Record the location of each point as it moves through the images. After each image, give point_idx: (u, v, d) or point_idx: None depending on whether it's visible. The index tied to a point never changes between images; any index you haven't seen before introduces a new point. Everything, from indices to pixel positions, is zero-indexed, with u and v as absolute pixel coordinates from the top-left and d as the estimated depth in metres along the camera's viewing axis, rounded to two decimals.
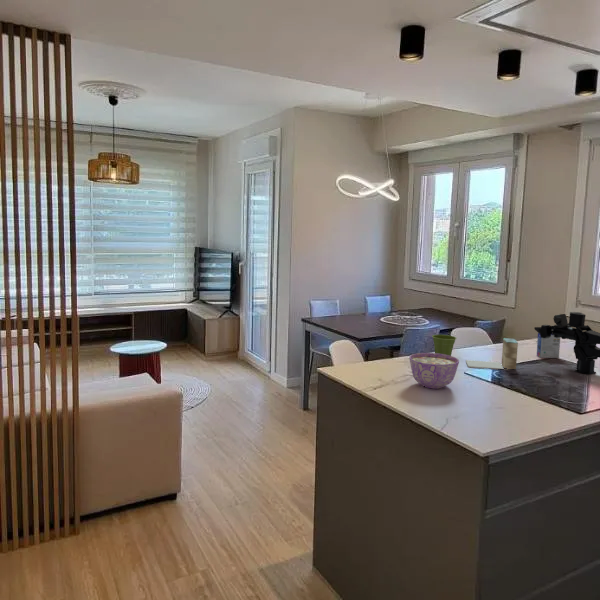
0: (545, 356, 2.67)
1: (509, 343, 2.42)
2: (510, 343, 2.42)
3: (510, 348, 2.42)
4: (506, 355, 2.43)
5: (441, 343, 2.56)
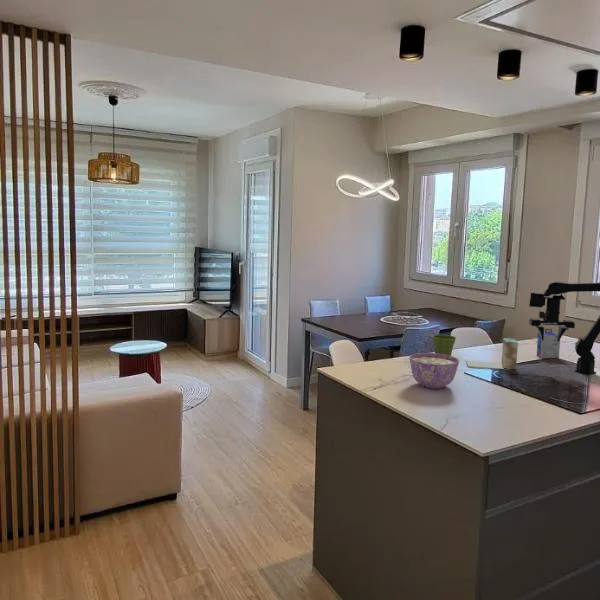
0: (545, 356, 2.67)
1: (509, 343, 2.42)
2: (510, 343, 2.42)
3: (510, 348, 2.42)
4: (506, 355, 2.43)
5: (441, 343, 2.56)
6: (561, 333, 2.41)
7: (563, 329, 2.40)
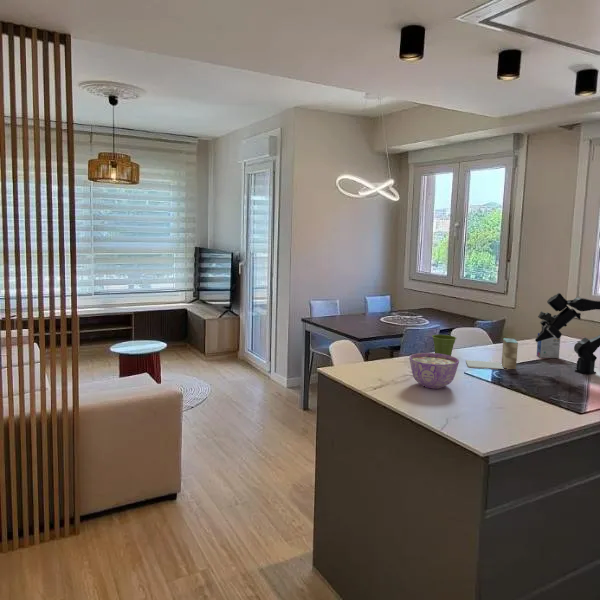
0: (545, 356, 2.67)
1: (509, 343, 2.42)
2: (510, 343, 2.42)
3: (510, 348, 2.42)
4: (506, 355, 2.43)
5: (441, 343, 2.56)
6: None
7: None
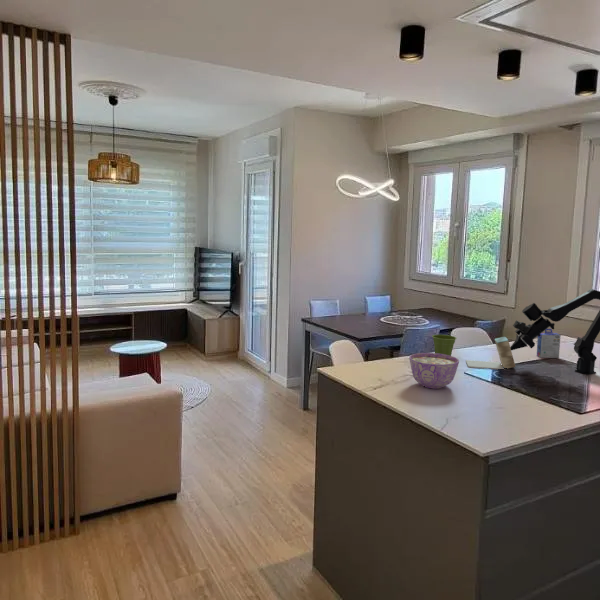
0: (545, 356, 2.67)
1: (500, 343, 2.43)
2: (501, 343, 2.42)
3: (503, 348, 2.43)
4: (501, 355, 2.43)
5: (441, 343, 2.56)
6: None
7: None
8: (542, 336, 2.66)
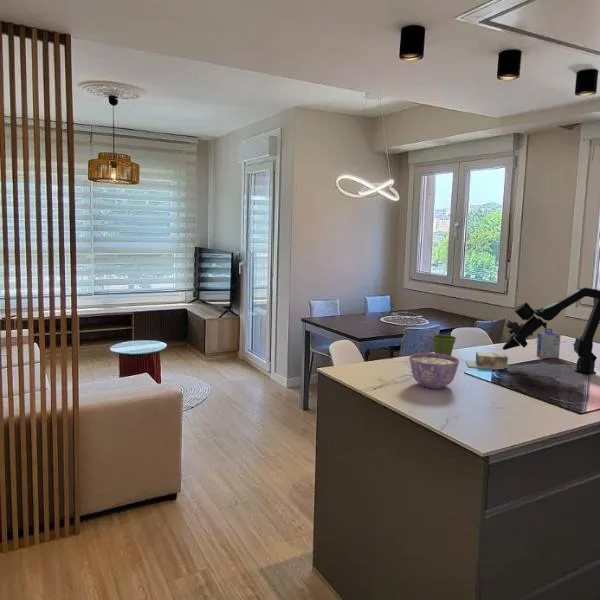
0: (545, 356, 2.67)
1: (479, 363, 2.46)
2: (479, 362, 2.46)
3: (485, 362, 2.45)
4: (492, 366, 2.45)
5: (441, 343, 2.56)
6: None
7: None
8: (542, 336, 2.66)
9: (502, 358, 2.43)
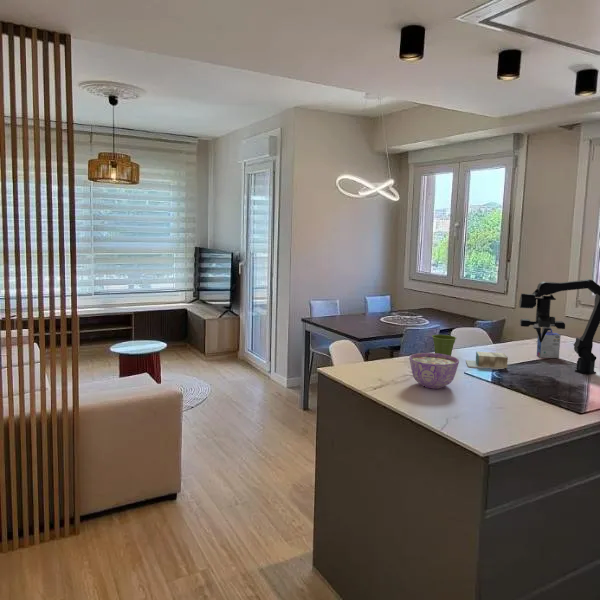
0: (545, 356, 2.67)
1: (479, 363, 2.46)
2: (479, 362, 2.46)
3: (485, 362, 2.45)
4: (492, 366, 2.45)
5: (441, 343, 2.56)
6: None
7: None
8: None
9: (502, 358, 2.43)
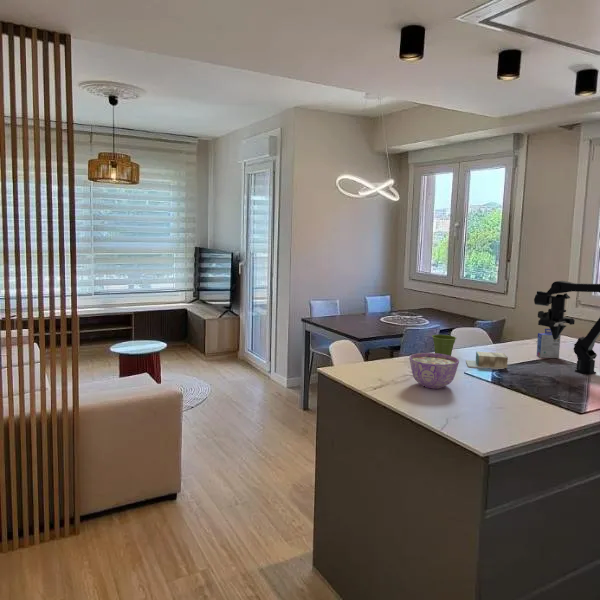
0: (545, 356, 2.67)
1: (479, 363, 2.46)
2: (479, 362, 2.46)
3: (485, 362, 2.45)
4: (492, 366, 2.45)
5: (441, 343, 2.56)
6: (560, 331, 2.47)
7: (563, 327, 2.47)
8: (542, 336, 2.66)
9: (502, 358, 2.43)
